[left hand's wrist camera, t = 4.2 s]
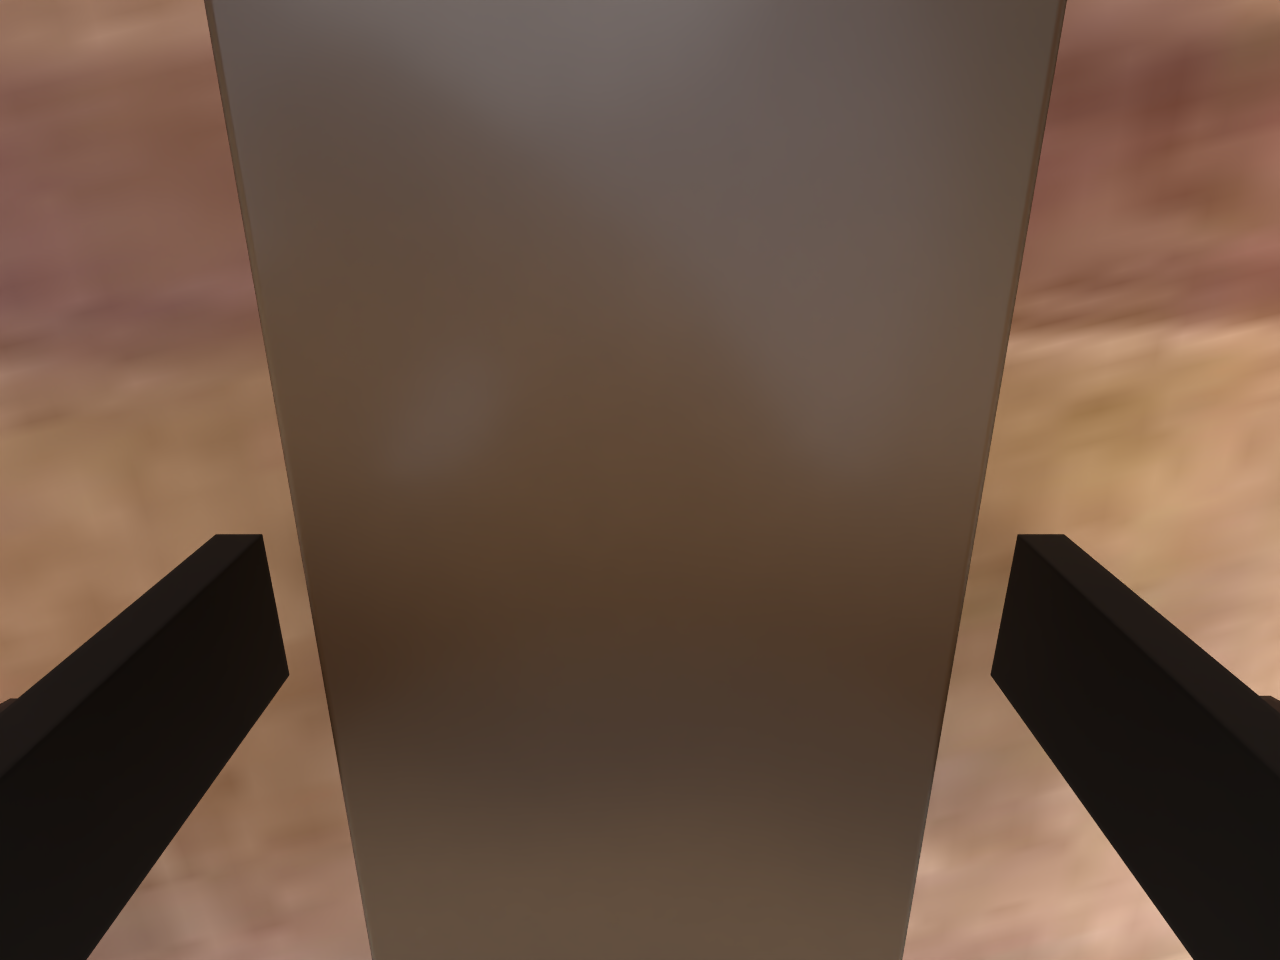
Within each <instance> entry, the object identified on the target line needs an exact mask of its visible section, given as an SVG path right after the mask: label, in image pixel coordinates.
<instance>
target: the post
mask: <svg viewBox="0 0 1280 960" xmlns="http://www.w3.org/2000/svg"><path fill="white" fill-rule="evenodd" d="M1066 2H1067V0H204V3H205V8H206V14H207V20H208V26H209V31H210V37H211V43H212V48H213V54H214V60H215V65H216V71H217V77H218V83H219V88H220V94H221V100H222V105H223V111H224V117H225V122H226V128H227V134H228V140H229V145H230V151H231V157H232V162H233V168H234V174H235V179H236V185H237V191H238V197H239V202H240V208H241V214H242V219H243V225H244V231H245V237H246V242H247V248H248V254H249V259H250V265H251V271H252V276H253V282H254V288H255V294H256V299H257V305H258V311H259V316H260V322H261V328H262V333H263V339H264V345H265V351H266V356H267V362H268V368H269V373H270V379H271V385H272V390H273V396H274V402H275V408H276V413H277V419H278V425H279V430H280V436H281V442H282V447H283V453H284V459H285V465H286V470H287V476H288V482H289V487H290V493H291V499H292V504H293V510H294V516H295V522H296V527H297V533H298V539H299V544H300V550H301V556H302V561H303V567H304V573H305V579H306V584H307V590H308V596H309V601H310V607H311V613H312V619H313V624H314V630H315V636H316V641H317V647H318V653H319V658H320V664H321V670H322V676H323V681H324V687H325V693H326V698H327V704H328V710H329V715H330V721H331V727H332V733H333V738H334V744H335V750H336V755H337V761H338V767H339V772H340V778H341V784H342V790H343V795H344V801H345V807H346V812H347V818H348V824H349V829H350V835H351V841H352V847H353V852H354V858H355V864H356V869H357V875H358V881H359V886H360V892H361V898H362V904H363V909H364V915H365V921H366V926H367V932H368V938H369V943H370V949H371V955H372V960H902V957H903V951H904V946H905V940H906V934H907V928H908V922H909V917H910V911H911V905H912V899H913V893H914V887H915V882H916V876H917V870H918V864H919V858H920V852H921V847H922V841H923V835H924V829H925V823H926V818H927V812H928V806H929V800H930V794H931V788H932V783H933V777H934V771H935V765H936V759H937V753H938V748H939V742H940V736H941V730H942V724H943V718H944V713H945V707H946V701H947V695H948V689H949V684H950V678H951V672H952V666H953V660H954V654H955V649H956V643H957V637H958V631H959V625H960V619H961V614H962V608H963V602H964V596H965V590H966V584H967V579H968V573H969V567H970V561H971V555H972V550H973V544H974V538H975V532H976V526H977V520H978V515H979V509H980V503H981V497H982V491H983V485H984V480H985V474H986V468H987V462H988V456H989V451H990V445H991V439H992V433H993V427H994V421H995V416H996V410H997V404H998V398H999V392H1000V386H1001V381H1002V375H1003V369H1004V363H1005V357H1006V351H1007V346H1008V340H1009V334H1010V328H1011V322H1012V317H1013V311H1014V305H1015V299H1016V293H1017V287H1018V282H1019V276H1020V270H1021V264H1022V258H1023V252H1024V247H1025V241H1026V235H1027V229H1028V223H1029V218H1030V212H1031V206H1032V200H1033V194H1034V188H1035V183H1036V177H1037V171H1038V165H1039V159H1040V153H1041V148H1042V142H1043V136H1044V130H1045V124H1046V118H1047V113H1048V107H1049V101H1050V95H1051V89H1052V84H1053V78H1054V72H1055V66H1056V60H1057V54H1058V49H1059V43H1060V37H1061V31H1062V25H1063V19H1064V14H1065V8H1066Z"/></svg>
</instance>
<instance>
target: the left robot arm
mask: <svg viewBox="0 0 1280 960" xmlns="http://www.w3.org/2000/svg"><path fill="white" fill-rule="evenodd" d="M288 676H289V670H288V665H287V660H286V655H285V650H284V645H283V639H282V634H281V629H280V624H279V619H278V613H277V608H276V603H275V598H274V593H273V588H272V582H271V577H270V572H269V567H268V562H267V556H266V551H265V546H264V541H263V536H262V534H216V535H215V536H213V537H212V538H211V539H210V540H209V541H207V542H206V543H205V544H204V545H203V546H201V547H200V548H199V549H198V550H196V551H195V552H194V553H193V554H192V555H190V556H189V557H188V558H187V559H186V560H184V561H183V562H182V563H181V564H180V565H178V566H177V567H176V568H175V569H174V570H172V571H171V572H170V573H169V574H168V575H166V576H165V577H164V578H163V579H161V580H160V581H159V582H158V583H157V584H155V585H154V586H153V587H152V588H151V589H149V590H148V591H147V592H146V593H145V594H143V595H142V596H141V597H140V598H139V599H137V600H136V601H135V602H134V603H133V604H131V605H130V606H129V607H128V608H126V609H125V610H124V611H123V612H122V613H120V614H119V615H118V616H117V617H116V618H114V619H113V620H112V621H111V622H110V623H108V624H107V625H106V626H105V627H104V628H102V629H101V630H100V631H99V632H98V633H96V634H95V635H94V636H93V637H91V638H90V639H89V640H88V641H87V642H85V643H84V644H83V645H82V646H81V647H79V648H78V649H77V650H76V651H75V652H73V653H72V654H71V655H70V656H69V657H67V658H66V659H65V660H64V661H62V662H61V663H60V664H59V665H58V666H56V667H55V668H54V669H53V670H52V671H50V672H49V673H48V674H47V675H46V676H44V677H43V678H42V679H41V680H40V681H38V682H37V683H36V684H35V685H34V686H32V687H31V688H30V689H29V690H27V691H26V692H25V693H24V694H23V695H21V696H20V697H19V698H18V699H9V700H7V701H5V702H3V703H1V704H0V960H87V958H88V957H89V955H90V954H91V953H92V951H93V950H94V948H95V947H96V946H97V944H98V943H99V941H100V940H101V939H102V937H103V936H104V934H105V933H106V932H107V930H108V929H109V927H110V926H111V925H112V923H113V922H114V920H115V919H116V918H117V916H118V915H119V913H120V912H121V910H122V909H123V908H124V906H125V905H126V903H127V902H128V901H129V899H130V898H131V896H132V895H133V894H134V892H135V891H136V889H137V888H138V887H139V885H140V884H141V882H142V881H143V880H144V878H145V877H146V875H147V874H148V873H149V871H150V870H151V868H152V867H153V866H154V864H155V863H156V861H157V860H158V859H159V857H160V856H161V854H162V853H163V852H164V850H165V849H166V847H167V846H168V845H169V843H170V842H171V840H172V839H173V838H174V836H175V835H176V833H177V832H178V831H179V829H180V828H181V826H182V825H183V824H184V822H185V821H186V819H187V818H188V816H189V815H190V814H191V812H192V811H193V809H194V808H195V807H196V805H197V804H198V802H199V801H200V800H201V798H202V797H203V795H204V794H205V793H206V791H207V790H208V788H209V787H210V786H211V784H212V783H213V781H214V780H215V779H216V777H217V776H218V774H219V773H220V772H221V770H222V769H223V767H224V766H225V765H226V763H227V762H228V760H229V759H230V758H231V756H232V755H233V753H234V752H235V751H236V749H237V748H238V746H239V745H240V744H241V742H242V741H243V739H244V738H245V737H246V735H247V734H248V732H249V731H250V730H251V728H252V727H253V725H254V724H255V722H256V721H257V720H258V718H259V717H260V715H261V714H262V713H263V711H264V710H265V708H266V707H267V706H268V704H269V703H270V701H271V700H272V699H273V697H274V696H275V694H276V693H277V692H278V690H279V689H280V687H281V686H282V685H283V683H284V682H285V680H286V679H287V678H288ZM991 676H992V678H993V679H994V680H995V682H996V683H997V685H998V686H999V687H1000V689H1001V690H1002V692H1003V693H1004V694H1005V696H1006V697H1007V699H1008V700H1009V701H1010V703H1011V704H1012V706H1013V707H1014V709H1015V710H1016V711H1017V713H1018V714H1019V716H1020V717H1021V718H1022V720H1023V721H1024V723H1025V724H1026V725H1027V727H1028V728H1029V730H1030V731H1031V732H1032V734H1033V735H1034V737H1035V738H1036V739H1037V741H1038V742H1039V744H1040V745H1041V746H1042V748H1043V749H1044V751H1045V752H1046V753H1047V755H1048V756H1049V758H1050V759H1051V760H1052V762H1053V763H1054V765H1055V766H1056V767H1057V769H1058V770H1059V772H1060V773H1061V774H1062V776H1063V777H1064V779H1065V780H1066V781H1067V783H1068V784H1069V786H1070V787H1071V788H1072V790H1073V791H1074V793H1075V794H1076V795H1077V797H1078V798H1079V800H1080V801H1081V802H1082V804H1083V805H1084V807H1085V808H1086V810H1087V811H1088V812H1089V814H1090V815H1091V817H1092V818H1093V819H1094V821H1095V822H1096V824H1097V825H1098V826H1099V828H1100V829H1101V831H1102V832H1103V833H1104V835H1105V836H1106V838H1107V839H1108V840H1109V842H1110V843H1111V845H1112V846H1113V847H1114V849H1115V850H1116V852H1117V853H1118V854H1119V856H1120V857H1121V859H1122V860H1123V861H1124V863H1125V864H1126V866H1127V867H1128V868H1129V870H1130V871H1131V873H1132V874H1133V875H1134V877H1135V878H1136V880H1137V881H1138V882H1139V884H1140V885H1141V887H1142V888H1143V889H1144V891H1145V892H1146V894H1147V895H1148V896H1149V898H1150V899H1151V901H1152V902H1153V904H1154V905H1155V906H1156V908H1157V909H1158V911H1159V912H1160V913H1161V915H1162V916H1163V918H1164V919H1165V920H1166V922H1167V923H1168V925H1169V926H1170V927H1171V929H1172V930H1173V932H1174V933H1175V934H1176V936H1177V937H1178V939H1179V940H1180V941H1181V943H1182V944H1183V946H1184V947H1185V948H1186V950H1187V951H1188V953H1189V954H1190V955H1191V957H1192V958H1193V960H1280V701H1279V700H1277V699H1275V698H1274V697H1272V696H1259V695H1257V694H1256V693H1255V692H1254V691H1252V690H1251V689H1250V688H1249V687H1248V686H1246V685H1245V684H1244V683H1243V682H1242V681H1240V680H1239V679H1238V678H1237V677H1236V676H1234V675H1233V674H1232V673H1231V672H1230V671H1228V670H1227V669H1226V668H1225V667H1224V666H1222V665H1221V664H1220V663H1219V662H1217V661H1216V660H1215V659H1214V658H1213V657H1211V656H1210V655H1209V654H1208V653H1207V652H1205V651H1204V650H1203V649H1202V648H1201V647H1199V646H1198V645H1197V644H1196V643H1195V642H1193V641H1192V640H1191V639H1190V638H1189V637H1187V636H1186V635H1185V634H1184V633H1182V632H1181V631H1180V630H1179V629H1178V628H1176V627H1175V626H1174V625H1173V624H1172V623H1170V622H1169V621H1168V620H1167V619H1166V618H1164V617H1163V616H1162V615H1161V614H1160V613H1158V612H1157V611H1156V610H1155V609H1154V608H1152V607H1151V606H1150V605H1149V604H1147V603H1146V602H1145V601H1144V600H1143V599H1141V598H1140V597H1139V596H1138V595H1137V594H1135V593H1134V592H1133V591H1132V590H1131V589H1129V588H1128V587H1127V586H1126V585H1125V584H1123V583H1122V582H1121V581H1120V580H1118V579H1117V578H1116V577H1115V576H1114V575H1112V574H1111V573H1110V572H1109V571H1108V570H1106V569H1105V568H1104V567H1103V566H1102V565H1100V564H1099V563H1098V562H1097V561H1096V560H1094V559H1093V558H1092V557H1091V556H1090V555H1088V554H1087V553H1086V552H1085V551H1083V550H1082V549H1081V548H1080V547H1079V546H1077V545H1076V544H1075V543H1074V542H1073V541H1071V540H1070V539H1069V538H1068V537H1067V536H1065V535H1064V534H1018V536H1017V541H1016V546H1015V551H1014V556H1013V561H1012V567H1011V572H1010V577H1009V582H1008V587H1007V593H1006V598H1005V603H1004V608H1003V613H1002V619H1001V624H1000V629H999V634H998V639H997V644H996V650H995V655H994V660H993V665H992V670H991Z"/></svg>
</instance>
